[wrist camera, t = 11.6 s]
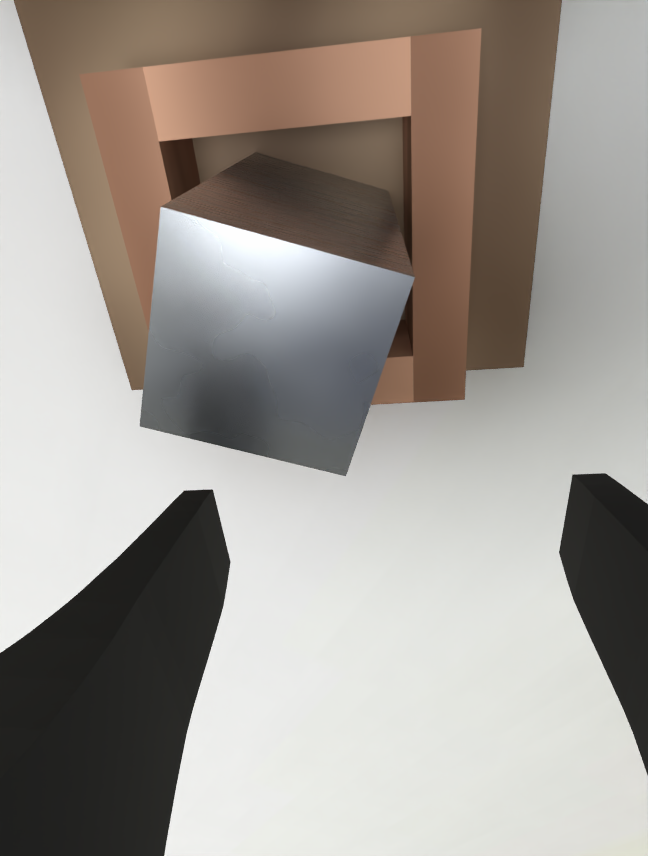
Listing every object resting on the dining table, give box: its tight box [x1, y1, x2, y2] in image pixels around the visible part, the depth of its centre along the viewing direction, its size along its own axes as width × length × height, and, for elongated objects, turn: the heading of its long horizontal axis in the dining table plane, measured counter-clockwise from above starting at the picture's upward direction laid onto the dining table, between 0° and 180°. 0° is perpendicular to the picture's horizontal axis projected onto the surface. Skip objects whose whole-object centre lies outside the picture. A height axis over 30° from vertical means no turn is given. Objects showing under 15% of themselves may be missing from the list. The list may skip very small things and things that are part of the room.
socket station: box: [14, 0, 562, 405], centre depth 12 cm, size 14×16×11 cm
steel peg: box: [140, 152, 415, 476], centre depth 13 cm, size 4×4×9 cm
